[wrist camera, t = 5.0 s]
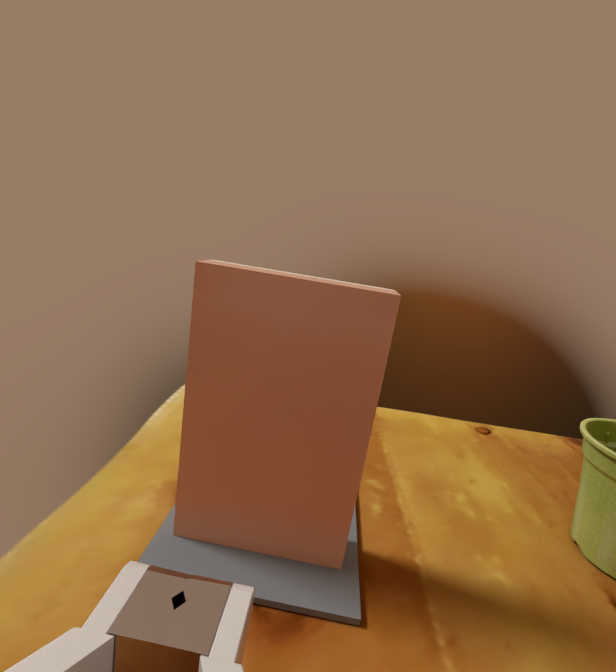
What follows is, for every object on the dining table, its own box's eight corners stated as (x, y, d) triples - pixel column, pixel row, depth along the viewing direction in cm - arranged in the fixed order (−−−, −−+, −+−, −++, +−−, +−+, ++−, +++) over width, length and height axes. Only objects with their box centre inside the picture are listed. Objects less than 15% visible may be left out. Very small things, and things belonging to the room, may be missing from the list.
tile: (341, 569, 22) (401, 295, 18) (172, 534, 22) (195, 261, 18) (341, 538, 24) (394, 290, 20) (189, 507, 24) (212, 259, 20)
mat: (359, 626, 19) (361, 619, 19) (130, 577, 19) (131, 571, 19) (350, 425, 40) (351, 421, 40) (241, 404, 41) (242, 401, 41)
